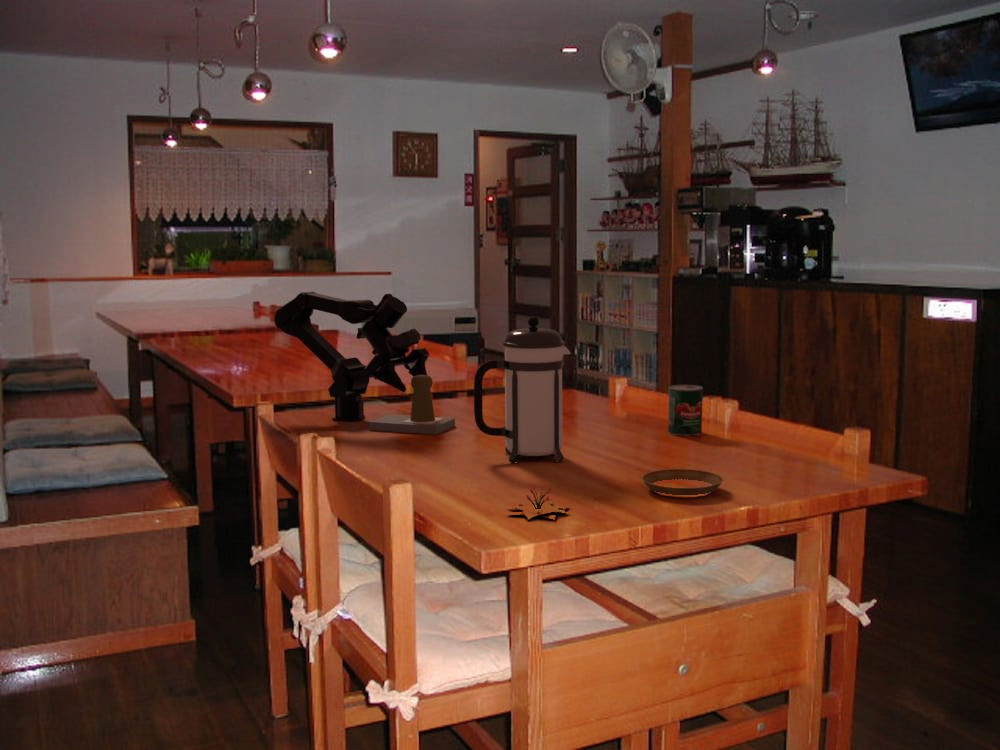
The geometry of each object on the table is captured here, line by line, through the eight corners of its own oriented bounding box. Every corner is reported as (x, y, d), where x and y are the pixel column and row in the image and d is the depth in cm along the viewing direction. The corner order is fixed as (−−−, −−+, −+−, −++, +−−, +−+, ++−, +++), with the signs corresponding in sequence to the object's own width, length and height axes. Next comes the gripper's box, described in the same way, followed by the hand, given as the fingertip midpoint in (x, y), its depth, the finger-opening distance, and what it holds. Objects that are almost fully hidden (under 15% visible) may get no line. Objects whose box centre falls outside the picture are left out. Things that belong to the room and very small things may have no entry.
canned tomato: (687, 437, 233) (688, 390, 231) (661, 432, 239) (661, 387, 237) (708, 433, 238) (709, 387, 236) (682, 428, 244) (682, 383, 242)
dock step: (369, 429, 246) (368, 421, 245) (390, 421, 256) (390, 413, 255) (436, 434, 239) (436, 425, 239) (455, 426, 249) (454, 417, 249)
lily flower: (493, 521, 169) (492, 494, 168) (518, 503, 180) (518, 478, 179) (561, 528, 165) (561, 501, 164) (582, 509, 176) (582, 483, 175)
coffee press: (529, 446, 225) (528, 312, 221) (583, 457, 214) (583, 316, 210) (472, 458, 213) (470, 317, 209) (526, 471, 202) (526, 321, 198)
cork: (438, 421, 244) (437, 376, 243) (413, 422, 242) (412, 377, 241) (430, 416, 250) (430, 372, 248) (407, 418, 248) (406, 374, 246)
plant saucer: (669, 505, 176) (669, 491, 176) (626, 487, 190) (627, 473, 190) (739, 496, 182) (739, 482, 182) (693, 478, 196) (693, 465, 195)
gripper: (373, 321, 239) (410, 371, 234) (423, 316, 254) (458, 362, 249) (349, 352, 244) (385, 401, 240) (399, 345, 260) (433, 391, 255)
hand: (417, 388), depth 246 cm, fingers open, 9 cm apart
